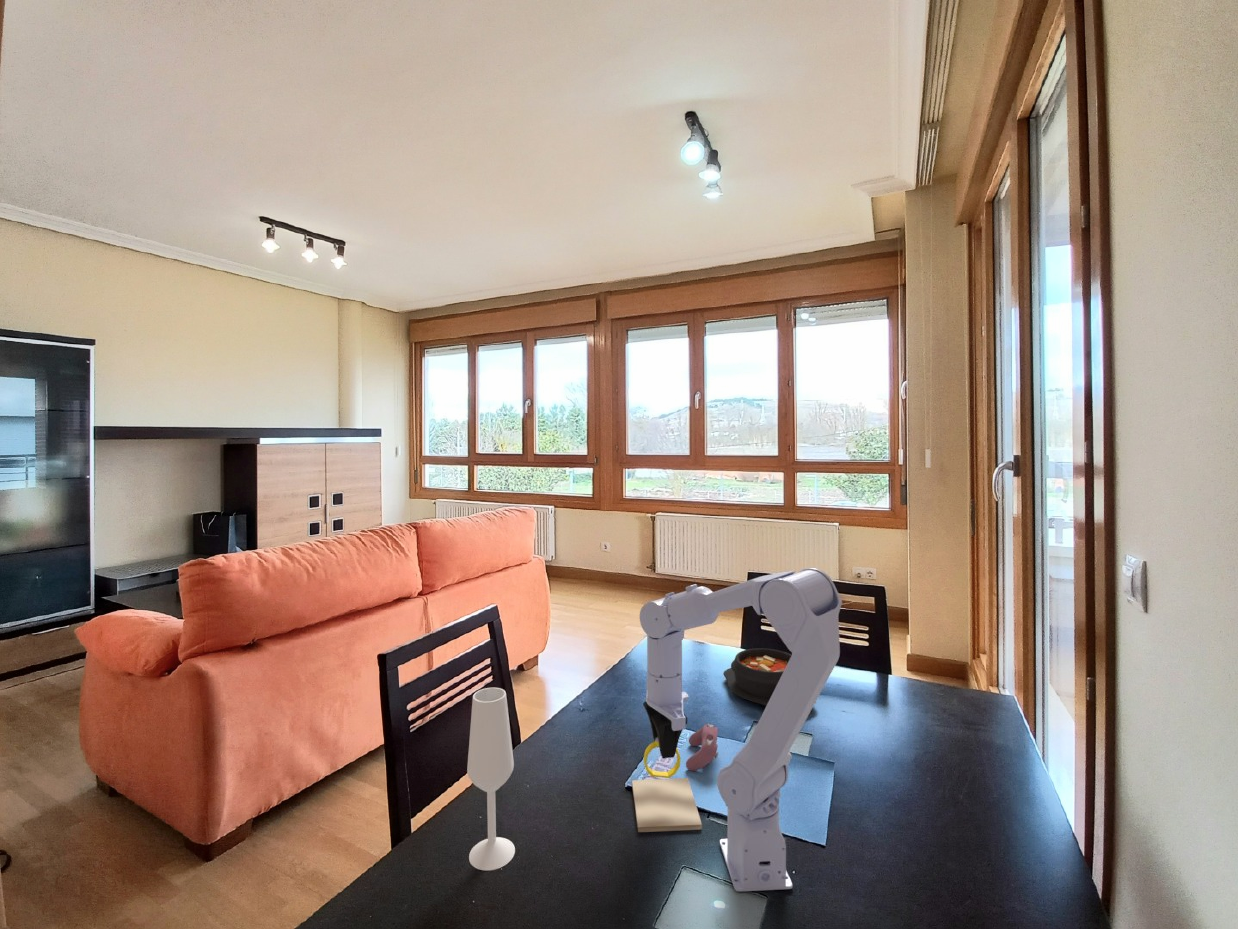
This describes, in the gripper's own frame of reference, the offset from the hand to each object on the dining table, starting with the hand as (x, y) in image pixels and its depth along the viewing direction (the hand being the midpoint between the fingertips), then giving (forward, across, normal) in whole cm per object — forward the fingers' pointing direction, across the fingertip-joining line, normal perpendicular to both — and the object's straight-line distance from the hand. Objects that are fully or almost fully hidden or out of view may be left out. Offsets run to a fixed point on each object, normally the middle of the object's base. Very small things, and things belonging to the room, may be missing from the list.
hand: (664, 751), depth 93 cm
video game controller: (+10, +12, -11) cm, 19 cm away
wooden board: (+9, 0, 0) cm, 9 cm away
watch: (+4, 0, +1) cm, 4 cm away
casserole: (+10, +33, -36) cm, 50 cm away
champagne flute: (+10, -4, +28) cm, 30 cm away
